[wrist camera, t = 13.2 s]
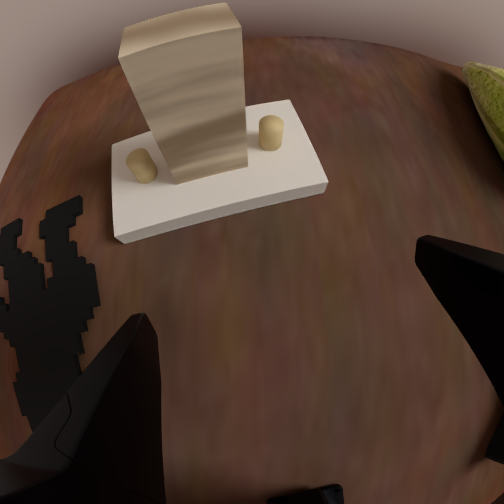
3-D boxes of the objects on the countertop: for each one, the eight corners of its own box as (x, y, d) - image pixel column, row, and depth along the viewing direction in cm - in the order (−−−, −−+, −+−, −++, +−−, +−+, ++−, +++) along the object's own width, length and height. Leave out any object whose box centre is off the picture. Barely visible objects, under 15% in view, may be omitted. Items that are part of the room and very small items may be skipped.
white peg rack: (323, 193, 24) (335, 165, 20) (124, 244, 23) (100, 225, 19) (287, 112, 27) (291, 81, 22) (119, 155, 26) (101, 129, 21)
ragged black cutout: (1, 233, 24) (50, 481, 16) (-4, 230, 23) (45, 483, 15) (98, 185, 25) (172, 489, 17) (94, 181, 24) (169, 494, 16)
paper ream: (248, 166, 23) (241, 27, 10) (177, 184, 22) (118, 58, 10) (236, 130, 24) (225, 1, 11) (171, 146, 23) (124, 26, 11)
